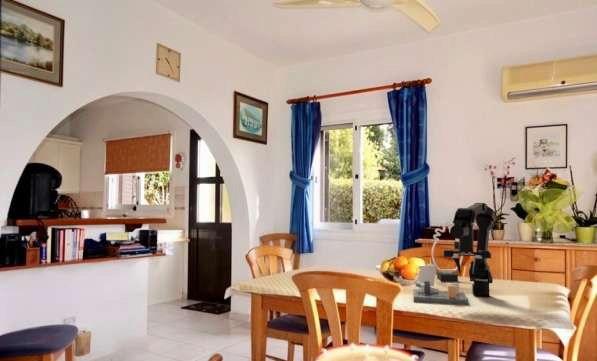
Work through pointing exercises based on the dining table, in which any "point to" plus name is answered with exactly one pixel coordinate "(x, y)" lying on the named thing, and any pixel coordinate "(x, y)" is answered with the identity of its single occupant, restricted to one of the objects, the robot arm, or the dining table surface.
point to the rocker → (424, 287)
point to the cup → (427, 274)
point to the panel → (438, 296)
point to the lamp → (447, 273)
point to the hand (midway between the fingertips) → (466, 274)
